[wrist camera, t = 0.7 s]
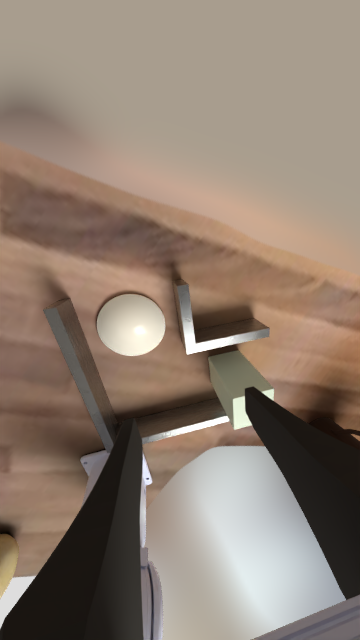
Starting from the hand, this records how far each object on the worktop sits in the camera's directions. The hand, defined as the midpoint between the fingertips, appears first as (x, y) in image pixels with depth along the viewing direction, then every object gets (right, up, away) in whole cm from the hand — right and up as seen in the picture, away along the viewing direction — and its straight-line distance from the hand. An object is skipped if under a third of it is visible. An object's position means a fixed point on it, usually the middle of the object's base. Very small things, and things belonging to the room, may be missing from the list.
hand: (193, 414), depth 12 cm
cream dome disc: (-6, +5, +8) cm, 11 cm away
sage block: (+5, 0, +12) cm, 13 cm away
